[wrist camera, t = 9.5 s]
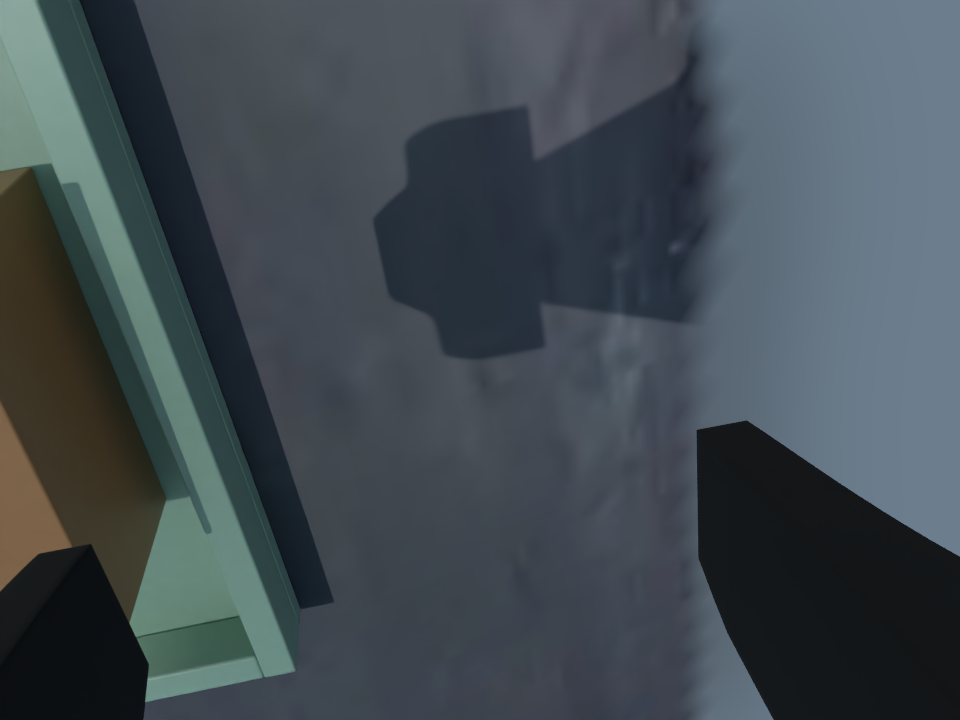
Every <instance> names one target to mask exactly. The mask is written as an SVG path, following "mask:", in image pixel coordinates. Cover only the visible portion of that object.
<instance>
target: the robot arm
mask: <svg viewBox="0 0 960 720" xmlns="http://www.w3.org/2000/svg"><path fill="white" fill-rule="evenodd" d="M697 484H698V553H699V560H700V563H701V566H702V568H703V571H704V574H705V576H706V579H707V582H708V584H709V587H710V590H711V592H712V595H713V598H714V600H715V603H716V605H717V608H718V610H719V613H720V615H721V618H722V620H723V623H724V625H725V628H726V630H727V633H728V635H729V637H730V639H731V640H732V642H733V644H734V646H735V648H736V650H737V652H738V654H739V656H740V658H741V659H742V661H743V663H744V665H745V667H746V669H747V670H748V673H749V674H750V676H751V678H752V680H753V682H754V684H755V686H756V688H757V690H758V692H759V693H760V695H761V697H762V699H763V701H764V703H765V705H766V706H767V708H768V710H769V712H770V714H771V716H772V717H773V719H774V720H960V557H959V556H958V555H956V554H954V553H952V552H951V551H949V550H947V549H945V548H943V547H941V546H940V545H938V544H936V543H935V542H933V541H931V540H929V539H928V538H926V537H924V536H922V535H921V534H919V533H918V532H916V531H914V530H913V529H911V528H909V527H908V526H906V525H904V524H903V523H901V522H899V521H898V520H896V519H895V518H893V517H891V516H890V515H888V514H886V513H885V512H883V511H881V510H880V509H878V508H877V507H875V506H874V505H872V504H871V503H869V502H868V501H866V500H864V499H863V498H861V497H860V496H858V495H857V494H855V493H854V492H852V491H851V490H849V489H848V488H846V487H844V486H843V485H841V484H840V483H838V482H837V481H835V480H834V479H832V478H831V477H829V476H828V475H826V474H825V473H823V472H822V471H821V470H819V469H818V468H816V467H815V466H813V465H812V464H810V463H808V462H807V461H806V460H804V459H803V458H801V457H800V456H798V455H797V454H795V453H794V452H793V451H791V450H790V449H788V448H787V447H785V446H784V445H782V444H781V443H779V442H778V441H776V440H775V439H773V438H772V437H771V436H769V435H768V434H766V433H765V432H763V431H762V430H760V429H759V428H757V427H755V426H754V425H753V424H751V423H749V422H748V421H742V422H736V423H731V424H726V425H720V426H715V427H710V428H705V429H699V430H697ZM148 670H149V663H148V661H147V659H146V657H145V655H144V653H143V651H142V649H141V647H140V645H139V642H138V640H137V638H136V636H135V634H134V632H133V630H132V628H131V626H130V624H129V622H128V620H127V617H126V615H125V613H124V611H123V609H122V607H121V605H120V603H119V601H118V599H117V597H116V595H115V592H114V590H113V588H112V586H111V584H110V582H109V580H108V578H107V576H106V574H105V572H104V570H103V568H102V565H101V563H100V561H99V559H98V557H97V555H96V553H95V551H94V549H93V547H92V545H91V544H87V545H82V546H76V547H71V548H66V549H61V550H55V551H50V552H45V553H39V554H38V555H37V556H36V557H35V558H33V559H32V560H31V561H30V562H29V563H28V564H27V565H26V566H25V567H24V568H23V569H22V570H21V571H20V572H19V573H18V574H17V575H16V576H15V577H14V578H13V579H12V580H11V581H10V582H9V583H8V584H7V585H6V586H5V587H4V588H3V589H2V590H1V591H0V720H143V717H144V709H145V699H146V690H147V680H148Z"/></svg>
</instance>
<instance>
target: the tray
mask: <svg viewBox="0 0 960 720" xmlns="http://www.w3.org/2000/svg"><path fill="white" fill-rule="evenodd" d="M24 167H31V168H32V170H33V173H34V175H35V178H36V180H37V182H38V185H39V187H40V190H41V192H42V195H43V197H44V200H45V202H46V205H47V207H48V209H49V212H50V214H51V217H52V219H53V222H54V224H55V227H56V229H57V231H58V234H59V236H60V239H61V241H62V244H63V246H64V249H65V251H66V253H67V256H68V258H69V261H70V263H71V266H72V268H73V271H74V273H75V276H76V278H77V280H78V283H79V285H80V288H81V290H82V293H83V295H84V298H85V300H86V302H87V305H88V307H89V310H90V312H91V315H92V317H93V320H94V322H95V324H96V327H97V329H98V332H99V334H100V337H101V339H102V342H103V344H104V347H105V349H106V351H107V354H108V356H109V359H110V361H111V364H112V366H113V369H114V371H115V373H116V376H117V378H118V381H119V383H120V386H121V388H122V391H123V393H124V395H125V398H126V400H127V403H128V405H129V408H130V410H131V413H132V415H133V418H134V420H135V422H136V425H137V427H138V430H139V432H140V435H141V437H142V440H143V442H144V444H145V447H146V449H147V452H148V454H149V457H150V459H151V462H152V464H153V467H154V469H155V471H156V474H157V476H158V479H159V481H160V484H161V486H162V489H163V491H164V493H165V496H166V502H165V506H164V509H163V512H162V516H161V519H160V522H159V526H158V529H157V533H156V536H155V539H154V543H153V546H152V549H151V553H150V556H149V559H148V563H147V566H146V569H145V573H144V576H143V580H142V583H141V586H140V590H139V593H138V596H137V600H136V603H135V606H134V610H133V613H132V617H131V620H130V623H129V624H130V626H131V628H132V630H133V632H134V634H135V636H136V638H137V640H138V642H139V645H140V647H141V649H142V651H143V653H144V655H145V657H146V659H147V661H148V663H149V670H148V680H147V690H146V699H145V702H148V701H153V700H158V699H163V698H168V697H173V696H177V695H182V694H187V693H192V692H197V691H201V690H206V689H211V688H216V687H221V686H225V685H230V684H235V683H240V682H245V681H249V680H254V679H259V678H262V677H263V676H265V677H271V676H276V675H280V674H285V673H290V672H294V671H296V665H297V651H298V637H299V622H300V607H299V604H298V601H297V599H296V596H295V593H294V590H293V588H292V585H291V582H290V579H289V577H288V574H287V571H286V568H285V566H284V563H283V560H282V557H281V554H280V552H279V549H278V546H277V543H276V541H275V538H274V535H273V532H272V530H271V527H270V524H269V521H268V519H267V516H266V513H265V510H264V508H263V505H262V502H261V499H260V497H259V494H258V491H257V488H256V486H255V483H254V480H253V477H252V475H251V472H250V469H249V466H248V464H247V461H246V458H245V455H244V453H243V450H242V447H241V444H240V442H239V439H238V436H237V433H236V431H235V428H234V425H233V422H232V419H231V417H230V414H229V411H228V408H227V406H226V403H225V400H224V397H223V395H222V392H221V389H220V386H219V384H218V381H217V378H216V375H215V373H214V370H213V367H212V364H211V362H210V359H209V356H208V353H207V351H206V348H205V345H204V342H203V340H202V337H201V334H200V331H199V329H198V326H197V323H196V320H195V318H194V315H193V312H192V309H191V307H190V304H189V301H188V298H187V296H186V293H185V290H184V287H183V284H182V282H181V279H180V276H179V273H178V271H177V268H176V265H175V262H174V260H173V257H172V254H171V251H170V249H169V246H168V243H167V240H166V238H165V235H164V232H163V229H162V227H161V224H160V221H159V218H158V216H157V213H156V210H155V207H154V205H153V202H152V199H151V196H150V194H149V191H148V188H147V185H146V183H145V180H144V177H143V174H142V172H141V169H140V166H139V163H138V160H137V158H136V155H135V152H134V149H133V147H132V144H131V141H130V138H129V136H128V133H127V130H126V127H125V125H124V122H123V119H122V116H121V114H120V111H119V108H118V105H117V103H116V100H115V97H114V94H113V92H112V89H111V86H110V83H109V81H108V78H107V75H106V72H105V70H104V67H103V64H102V61H101V59H100V56H99V53H98V50H97V48H96V45H95V42H94V39H93V37H92V34H91V31H90V28H89V25H88V23H87V20H86V17H85V14H84V12H83V9H82V6H81V3H80V1H79V0H0V172H1V171H7V170H13V169H19V168H24Z"/></svg>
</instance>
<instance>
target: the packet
mask: <svg viewBox="0 0 960 720" xmlns="http://www.w3.org/2000/svg"><path fill="white" fill-rule="evenodd" d="M165 502H166V496H165V493H164V491H163V489H162V486H161V484H160V481H159V479H158V476H157V474H156V471H155V469H154V467H153V464H152V462H151V459H150V457H149V454H148V452H147V449H146V447H145V444H144V442H143V440H142V437H141V435H140V432H139V430H138V427H137V425H136V422H135V420H134V418H133V415H132V413H131V410H130V408H129V405H128V403H127V400H126V398H125V395H124V393H123V391H122V388H121V386H120V383H119V381H118V378H117V376H116V373H115V371H114V369H113V366H112V364H111V361H110V359H109V356H108V354H107V351H106V349H105V347H104V344H103V342H102V339H101V337H100V334H99V332H98V329H97V327H96V324H95V322H94V320H93V317H92V315H91V312H90V310H89V307H88V305H87V302H86V300H85V298H84V295H83V293H82V290H81V288H80V285H79V283H78V280H77V278H76V276H75V273H74V271H73V268H72V266H71V263H70V261H69V258H68V256H67V253H66V251H65V249H64V246H63V244H62V241H61V239H60V236H59V234H58V231H57V229H56V227H55V224H54V222H53V219H52V217H51V214H50V212H49V209H48V207H47V205H46V202H45V200H44V197H43V195H42V192H41V190H40V187H39V185H38V182H37V180H36V178H35V175H34V173H33V170H32V168H31V167H24V168H19V169H13V170H7V171H1V172H0V591H1V590H2V589H3V588H4V587H5V586H6V585H7V584H8V583H9V582H10V581H11V580H12V579H13V578H14V577H15V576H16V575H17V574H18V573H19V572H20V571H21V570H22V569H23V568H24V567H25V566H26V565H27V564H28V563H29V562H30V561H31V560H32V559H33V558H35V557H36V556H37V555H38V554H39V553H45V552H50V551H55V550H61V549H66V548H71V547H76V546H82V545H87V544H91V545H92V547H93V549H94V551H95V553H96V555H97V557H98V559H99V561H100V563H101V565H102V568H103V570H104V572H105V574H106V576H107V578H108V580H109V582H110V584H111V586H112V588H113V590H114V592H115V595H116V597H117V599H118V601H119V603H120V605H121V607H122V609H123V611H124V613H125V615H126V617H127V620H128V622H129V623H130V620H131V617H132V613H133V610H134V606H135V603H136V600H137V596H138V593H139V590H140V586H141V583H142V580H143V576H144V573H145V569H146V566H147V563H148V559H149V556H150V553H151V549H152V546H153V543H154V539H155V536H156V533H157V529H158V526H159V522H160V519H161V516H162V512H163V509H164V506H165Z"/></svg>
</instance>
